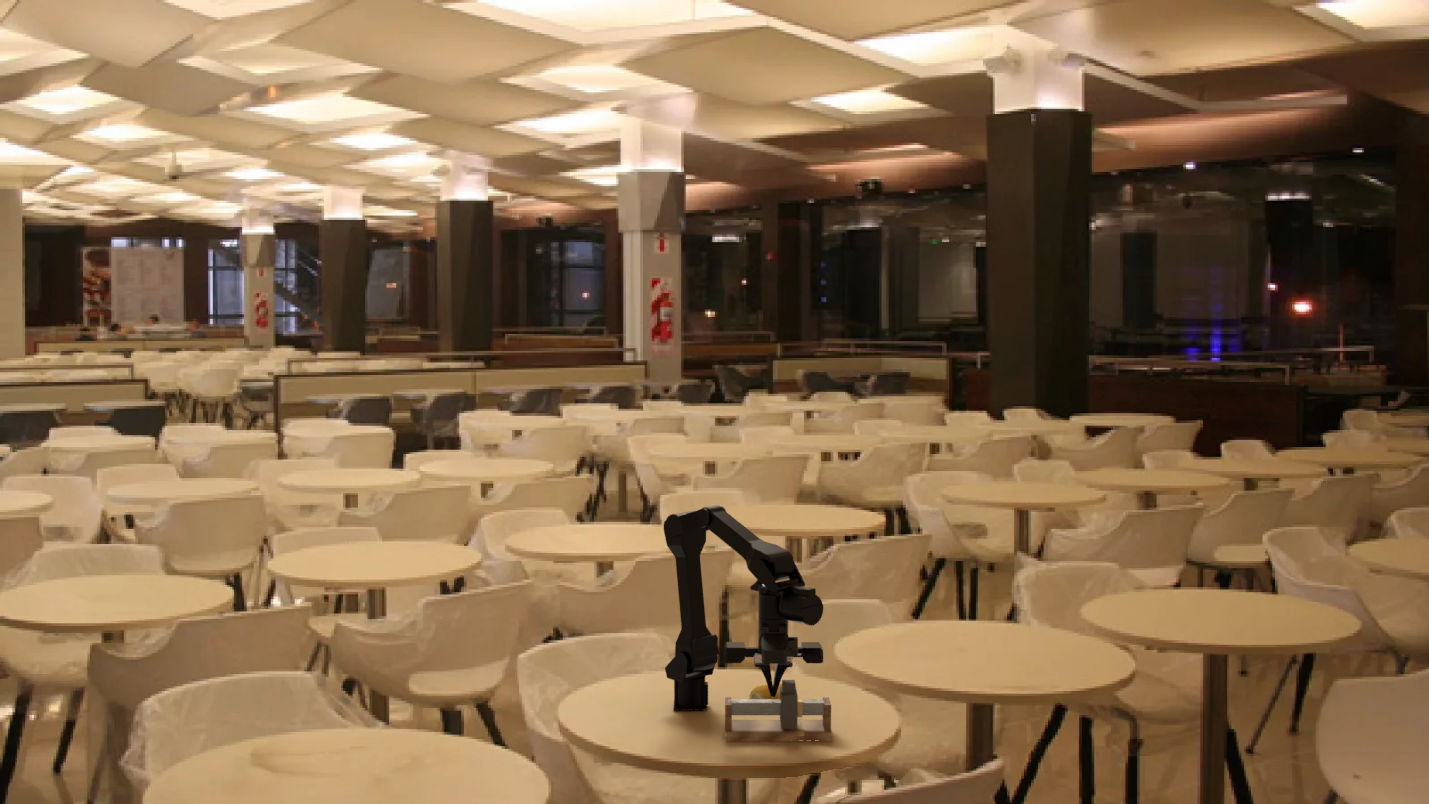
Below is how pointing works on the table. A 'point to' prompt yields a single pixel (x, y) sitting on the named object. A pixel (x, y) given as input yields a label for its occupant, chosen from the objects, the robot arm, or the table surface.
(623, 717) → the table surface
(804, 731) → the stand
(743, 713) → the brushed metal beam
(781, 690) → the grey stepped block
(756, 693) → the bread roll
